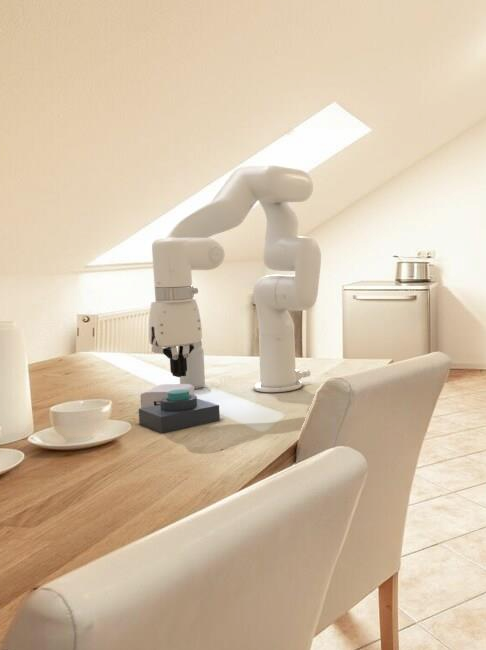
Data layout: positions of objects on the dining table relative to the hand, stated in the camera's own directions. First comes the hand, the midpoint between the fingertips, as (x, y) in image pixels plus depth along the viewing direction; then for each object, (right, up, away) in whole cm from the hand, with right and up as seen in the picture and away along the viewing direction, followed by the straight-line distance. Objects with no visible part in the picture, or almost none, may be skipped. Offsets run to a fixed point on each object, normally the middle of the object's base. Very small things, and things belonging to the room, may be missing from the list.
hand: (179, 375), depth 141 cm
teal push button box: (0, -11, +1) cm, 11 cm away
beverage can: (-13, -7, +35) cm, 38 cm away
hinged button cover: (-10, -9, +17) cm, 22 cm away
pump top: (0, -5, 0) cm, 6 cm away
